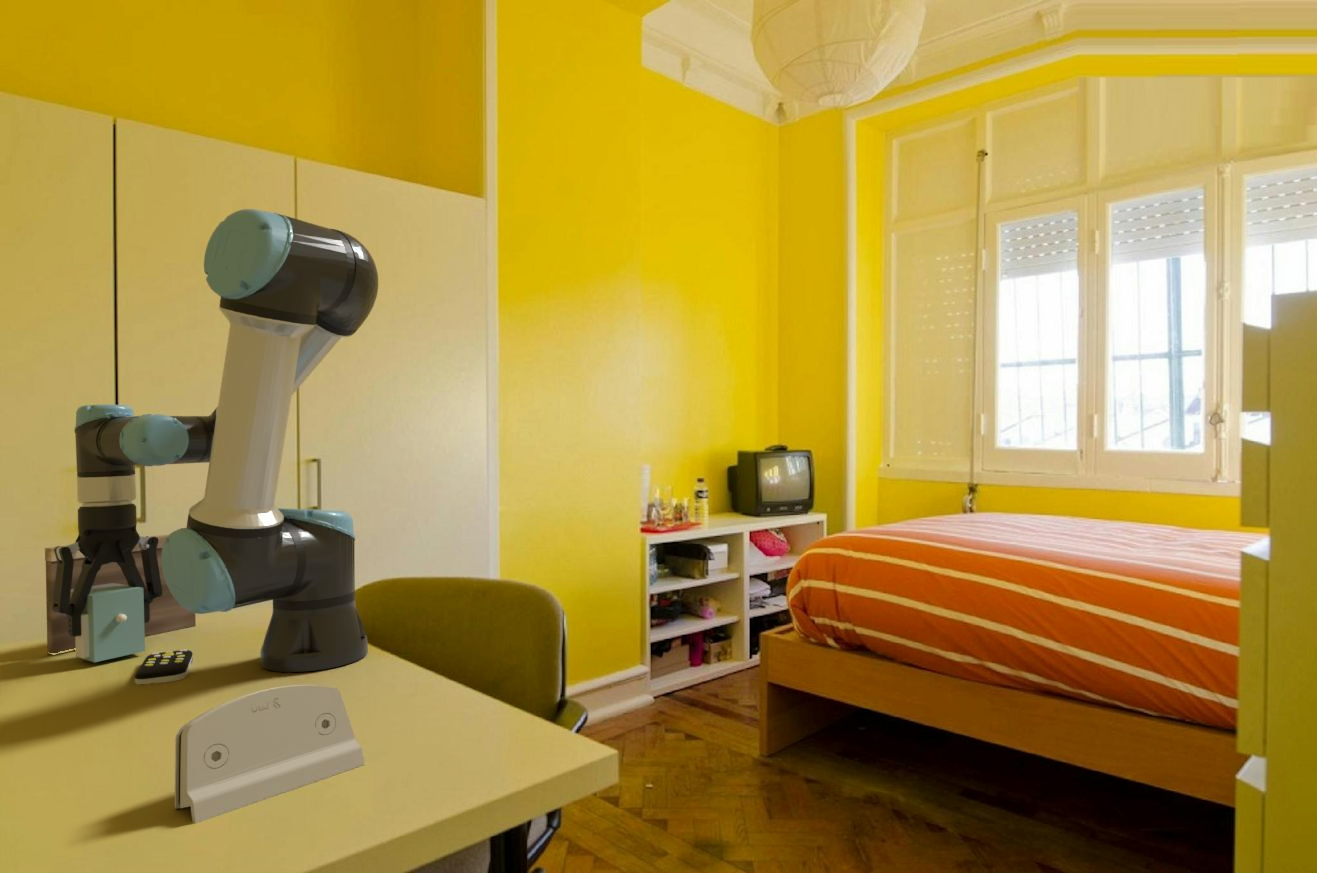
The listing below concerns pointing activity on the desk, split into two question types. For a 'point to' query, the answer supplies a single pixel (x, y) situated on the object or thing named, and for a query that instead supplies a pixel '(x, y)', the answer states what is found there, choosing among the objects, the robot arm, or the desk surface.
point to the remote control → (164, 667)
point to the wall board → (162, 609)
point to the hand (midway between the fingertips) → (111, 650)
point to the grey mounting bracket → (262, 748)
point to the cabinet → (114, 621)
